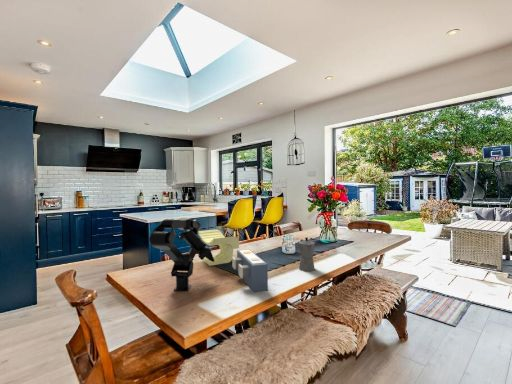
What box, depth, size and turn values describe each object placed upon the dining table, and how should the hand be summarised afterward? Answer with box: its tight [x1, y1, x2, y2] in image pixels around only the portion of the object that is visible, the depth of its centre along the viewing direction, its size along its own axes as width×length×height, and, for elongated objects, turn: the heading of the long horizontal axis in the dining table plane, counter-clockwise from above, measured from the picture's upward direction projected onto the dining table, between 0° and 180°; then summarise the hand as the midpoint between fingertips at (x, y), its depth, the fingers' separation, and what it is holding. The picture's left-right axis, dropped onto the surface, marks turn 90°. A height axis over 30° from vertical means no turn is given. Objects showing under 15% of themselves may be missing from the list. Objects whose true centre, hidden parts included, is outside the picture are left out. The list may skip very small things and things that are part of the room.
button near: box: [238, 264, 250, 279], centre depth 127 cm, size 6×5×5 cm
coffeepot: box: [298, 236, 316, 272], centre depth 153 cm, size 15×9×18 cm, turn 12°
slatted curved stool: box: [197, 229, 240, 267], centre depth 170 cm, size 30×16×18 cm, turn 29°
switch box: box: [236, 249, 269, 293], centre depth 135 cm, size 7×30×12 cm, turn 18°
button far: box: [231, 256, 242, 270], centre depth 141 cm, size 6×5×5 cm
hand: (213, 261), depth 138 cm, fingers closed
